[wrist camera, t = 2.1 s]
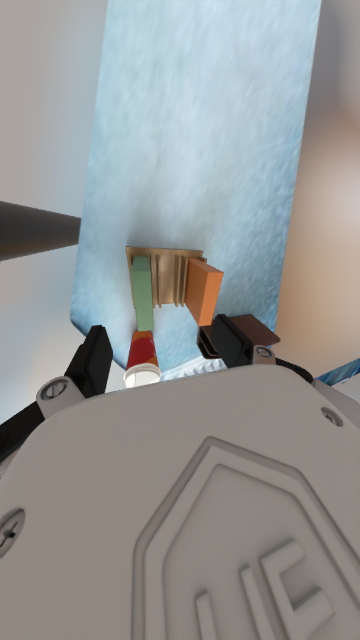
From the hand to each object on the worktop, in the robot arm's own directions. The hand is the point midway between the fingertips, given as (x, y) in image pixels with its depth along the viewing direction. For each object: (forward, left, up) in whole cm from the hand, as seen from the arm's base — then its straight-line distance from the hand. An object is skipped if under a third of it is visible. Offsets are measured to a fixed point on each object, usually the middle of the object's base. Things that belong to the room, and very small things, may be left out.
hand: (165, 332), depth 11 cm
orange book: (+9, -2, -23) cm, 25 cm away
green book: (-2, -2, -23) cm, 23 cm away
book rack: (+4, -2, -24) cm, 24 cm away
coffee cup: (-3, -20, -24) cm, 32 cm away
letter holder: (+25, -20, -24) cm, 40 cm away
